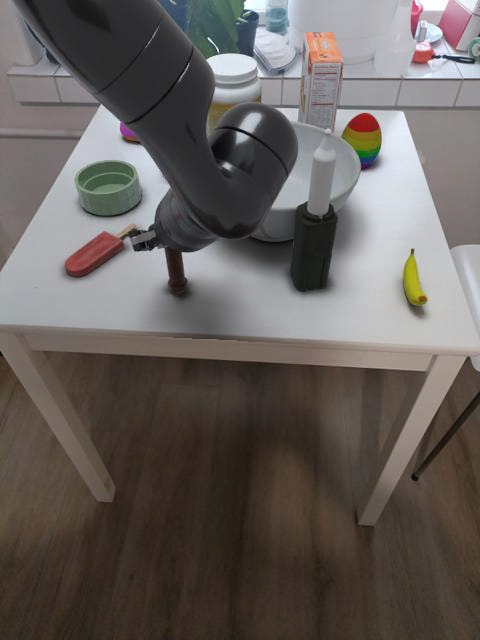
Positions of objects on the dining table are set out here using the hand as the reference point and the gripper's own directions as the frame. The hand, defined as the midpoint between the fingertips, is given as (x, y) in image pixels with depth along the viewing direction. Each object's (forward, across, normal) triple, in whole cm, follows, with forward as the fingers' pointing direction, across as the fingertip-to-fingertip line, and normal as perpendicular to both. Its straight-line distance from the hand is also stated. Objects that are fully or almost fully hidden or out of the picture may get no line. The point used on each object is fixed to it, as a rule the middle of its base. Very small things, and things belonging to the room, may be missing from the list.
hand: (167, 238), depth 71 cm
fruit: (-7, -32, +20) cm, 38 cm away
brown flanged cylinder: (+4, 0, +7) cm, 8 cm away
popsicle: (+15, +8, -2) cm, 17 cm away
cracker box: (+23, -41, -10) cm, 48 cm away
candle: (0, -19, +13) cm, 23 cm away
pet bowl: (+25, +2, -12) cm, 28 cm away
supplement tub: (+30, -27, -17) cm, 44 cm away
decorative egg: (+18, -47, -5) cm, 51 cm away
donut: (+40, -12, -27) cm, 49 cm away
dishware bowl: (+11, -22, +2) cm, 25 cm away
